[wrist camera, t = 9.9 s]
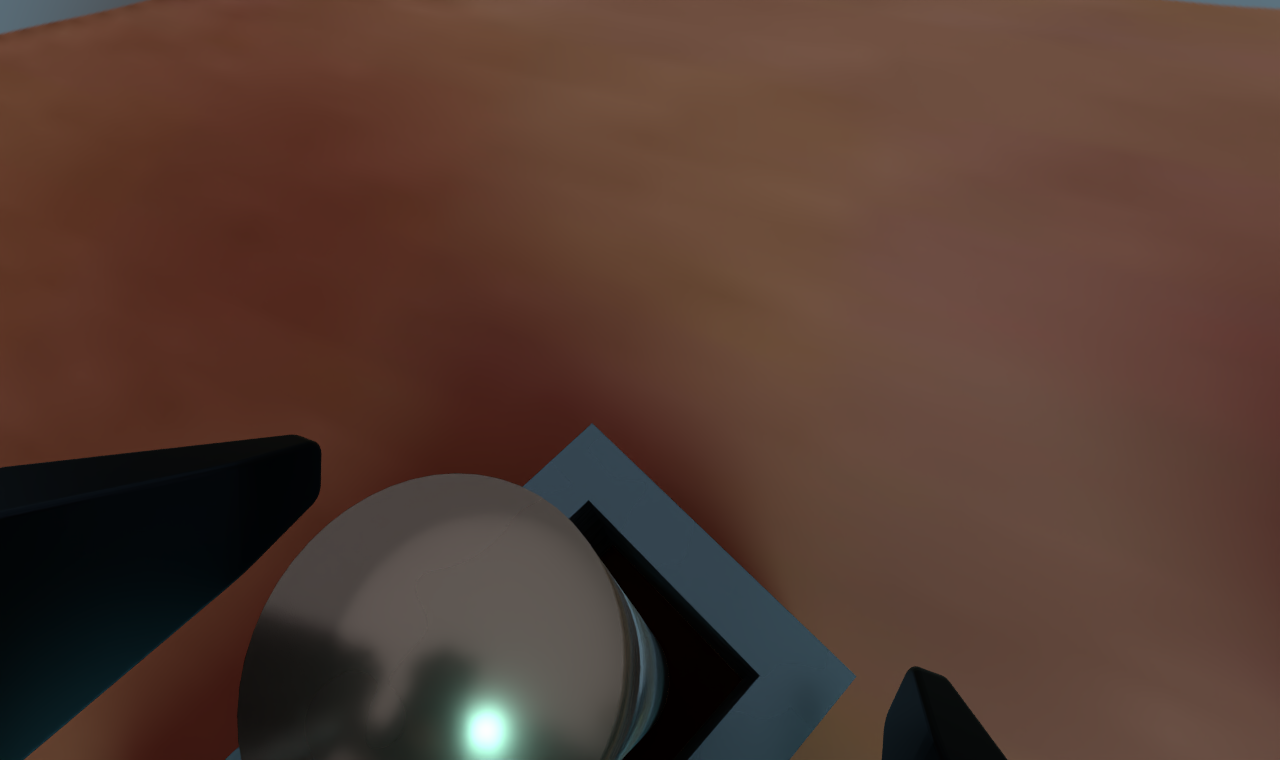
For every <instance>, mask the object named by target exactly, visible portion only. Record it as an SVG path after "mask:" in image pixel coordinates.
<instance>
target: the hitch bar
mask: <svg viewBox="0 0 1280 760" xmlns="http://www.w3.org/2000/svg"><path fill="white" fill-rule="evenodd" d="M523 488H525V489H527V490H529V491H531V492H533V493H535V494H537V495H539V496H540V497H542V498H543V499H545V500H546V501H548V502H549V503H551V504H552V505H553V506H555V507H556V508H557V509H558V510H560V511H561V512H562V513H563V514H564V515H565V516H566V517H567V518H568V519H569V520H570V521H571V522H573V524H574V525H575V526H576V527H577V529H578V530H579V531H580V532H581V533H582V535H583V536H584V537H585V538H586V540H587V541H588V542H589V544H590V545H591V547H592V548H593V549H594V551H595V552H596V554H597V555H598V556H599V558H600V557H601V556H602V555H603V554H604V553H605V552H606V551H607V550H608V549H609V548H610V547H611V546H612V545H613V546H614V547H615V548H616V549H617V550H618V551H619V552H620V553H621V554H622V555H623V556H624V557H625V558H626V559H627V560H628V561H629V562H630V563H631V564H632V565H633V566H634V567H635V569H636V570H637V571H638V572H639V573H640V574H641V575H642V576H643V577H644V578H645V579H646V580H647V581H648V582H649V583H650V584H651V585H652V586H653V587H654V588H655V589H656V590H657V591H658V592H659V594H660V595H661V596H662V597H663V598H664V599H665V600H666V601H667V602H668V603H669V604H670V605H671V606H672V607H673V608H674V609H675V610H676V611H677V612H678V613H679V614H680V615H681V616H682V617H683V619H684V620H685V621H686V622H687V623H688V624H689V625H690V626H691V627H692V628H693V629H694V630H695V631H696V632H697V633H698V634H699V635H700V636H701V637H702V638H703V639H704V640H705V641H706V642H707V644H708V645H709V646H710V647H711V648H712V649H713V650H714V651H715V652H716V653H717V654H718V655H719V656H720V657H721V658H722V659H723V660H724V661H725V662H726V663H727V664H728V665H729V666H730V667H731V669H732V670H733V671H734V672H735V673H736V674H737V675H738V676H739V677H740V678H741V679H742V680H741V681H740V682H739V684H738V685H737V686H736V687H735V688H734V689H733V690H732V692H731V693H730V694H729V695H728V696H727V697H726V699H725V700H724V701H723V702H722V703H721V704H720V706H719V707H718V708H717V709H716V710H715V711H714V712H713V714H712V715H711V716H710V717H709V718H708V719H707V721H706V722H705V723H704V724H703V725H702V726H701V727H700V729H699V730H698V731H697V732H696V733H695V734H694V736H693V737H692V738H691V739H690V740H689V741H688V743H687V744H686V745H685V746H684V747H683V748H682V749H681V751H680V752H679V753H678V754H677V755H676V756H675V758H674V759H673V760H789V759H790V758H791V757H792V756H793V755H794V753H795V752H796V751H797V750H798V748H799V747H800V746H801V745H802V743H803V742H804V741H805V740H806V738H807V737H808V736H809V735H810V733H811V732H812V731H813V730H814V728H815V727H816V726H817V725H818V723H819V722H820V721H821V720H822V719H823V717H824V716H825V715H826V714H827V712H828V711H829V710H830V709H831V707H832V706H833V705H834V704H835V702H836V701H837V700H838V699H839V697H840V696H841V695H842V694H843V692H844V691H845V690H846V689H847V688H848V686H849V685H850V684H851V683H852V681H853V680H854V679H855V678H856V676H855V675H854V674H853V673H852V672H851V671H850V670H849V669H848V668H847V667H846V666H845V665H844V664H843V663H842V662H841V661H840V660H839V659H838V658H837V657H835V656H834V655H833V654H832V653H831V652H830V651H829V650H828V649H827V648H826V647H825V646H824V645H823V644H822V643H821V642H820V641H819V640H818V639H817V638H816V637H815V636H814V635H813V634H811V633H810V632H809V631H808V630H807V629H806V628H805V627H804V626H803V625H802V624H801V623H800V622H799V621H798V620H797V619H796V618H795V617H794V616H793V615H792V614H791V613H790V612H789V611H788V610H786V609H785V608H784V607H783V606H782V605H781V604H780V603H779V602H778V601H777V600H776V599H775V598H774V597H773V596H772V595H771V594H770V593H769V592H768V591H767V590H766V589H765V588H764V587H762V586H761V585H760V584H759V583H758V582H757V581H756V580H755V579H754V578H753V577H752V576H751V575H750V574H749V573H748V572H747V571H746V570H745V569H744V568H743V567H742V566H741V565H740V564H738V563H737V562H736V561H735V560H734V559H733V558H732V557H731V556H730V555H729V554H728V553H727V552H726V551H725V550H724V549H723V548H722V547H721V546H720V545H719V544H718V543H717V542H716V541H714V540H713V539H712V538H711V537H710V536H709V535H708V534H707V533H706V532H705V531H704V530H703V529H702V528H701V527H700V526H699V525H698V524H697V523H696V522H695V521H694V520H693V519H692V518H690V517H689V516H688V515H687V514H686V513H685V512H684V511H683V510H682V509H681V508H680V507H679V506H678V505H677V504H676V503H675V502H674V501H673V500H672V499H671V498H670V497H669V496H668V495H666V494H665V493H664V492H663V491H662V490H661V489H660V488H659V487H658V486H657V485H656V484H655V483H654V482H653V481H652V480H651V479H650V478H649V477H648V476H647V475H646V474H645V473H644V472H642V471H641V470H640V469H639V468H638V467H637V466H636V465H635V464H634V463H633V462H632V461H631V460H630V459H629V458H628V457H627V456H626V455H625V454H624V453H623V452H622V451H621V450H620V449H618V448H617V447H616V446H615V445H614V444H613V443H612V442H611V441H610V440H609V439H608V438H607V437H606V436H605V435H604V434H603V433H602V432H601V431H600V430H599V429H598V428H597V427H596V426H594V425H593V424H591V425H590V426H589V427H587V428H586V429H585V430H584V431H583V432H582V433H581V434H580V435H579V436H578V437H577V438H575V439H574V440H573V441H572V442H571V443H570V444H569V445H568V446H567V447H566V448H565V449H563V450H562V451H561V452H560V453H559V454H558V455H557V456H556V457H555V458H554V459H553V460H551V461H550V462H549V463H548V464H547V465H546V466H545V467H544V468H543V469H542V470H541V471H539V472H538V473H537V474H536V475H535V476H534V477H533V478H532V479H531V480H530V481H529V482H527V483H526V484H525V485H524V486H523ZM225 760H241V755H240V749H239V747H238V748H237V749H236V750H235V751H234V752H233V753H232V754H231V755H229V756H228V757H227V758H226V759H225Z"/></svg>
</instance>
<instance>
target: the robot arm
mask: <svg viewBox="0 0 1280 760" xmlns="http://www.w3.org/2000/svg"><path fill="white" fill-rule="evenodd" d="M320 487H321V449H320V446H319V445H318V444H317V443H316V442H315V441H312V440H309V439H307V438H304V437H301V436H298V435H284V436H275V437H266V438H257V439H248V440H239V441H231V442H222V443H213V444H204V445H195V446H186V447H178V448H169V449H160V450H151V451H142V452H133V453H124V454H116V455H107V456H98V457H89V458H80V459H71V460H63V461H54V462H45V463H36V464H27V465H18V466H10V467H2V468H0V760H24V759H25V758H26V757H27V756H29V755H30V754H31V753H32V752H33V751H35V750H36V749H37V748H38V747H39V746H40V745H42V744H43V743H44V742H45V741H46V740H48V739H49V738H50V737H51V736H52V735H53V734H55V733H56V732H57V731H58V730H59V729H61V728H62V727H63V726H64V725H65V724H67V723H68V722H69V721H70V720H71V719H72V718H74V717H75V716H76V715H77V714H78V713H80V712H81V711H82V710H83V709H84V708H85V707H87V706H88V705H89V704H90V703H91V702H93V701H94V700H95V699H96V698H97V697H99V696H100V695H101V694H102V693H103V692H104V691H106V690H107V689H108V688H109V687H110V686H112V685H113V684H114V683H115V682H116V681H117V680H119V679H120V678H121V677H122V676H123V675H125V674H126V673H127V672H128V671H129V670H131V669H132V668H133V667H134V666H135V665H136V664H138V663H139V662H140V661H141V660H142V659H144V658H145V657H146V656H147V655H148V654H149V653H151V652H152V651H153V650H154V649H155V648H157V647H158V646H159V645H160V644H161V643H163V642H164V641H165V640H166V639H167V638H168V637H170V636H171V635H172V634H173V633H174V632H176V631H177V630H178V629H179V628H180V627H181V626H183V625H184V624H185V623H186V622H187V621H189V620H190V619H191V618H192V617H193V616H195V615H196V614H197V613H198V612H199V611H200V610H202V609H203V608H204V607H205V606H206V605H208V604H209V603H210V602H211V601H212V600H213V599H215V598H216V597H217V596H218V595H219V594H221V593H222V592H223V591H224V590H225V589H227V588H228V587H229V586H230V585H231V584H232V583H233V582H235V581H236V580H237V579H238V578H239V577H240V576H241V575H242V574H243V573H245V572H246V571H247V570H248V569H249V568H250V567H251V566H252V565H253V564H254V563H255V562H256V561H257V560H258V559H259V558H260V557H261V556H262V555H263V554H264V553H265V552H266V551H267V550H268V549H269V548H270V547H271V546H272V545H273V544H274V543H275V542H276V541H277V540H278V539H279V538H280V537H281V536H282V535H283V534H284V533H285V532H286V531H287V530H288V529H289V528H290V527H291V526H292V525H293V524H294V523H295V522H296V521H297V520H298V518H299V517H300V516H301V515H302V514H303V513H304V512H305V511H306V510H307V509H308V508H309V507H310V506H311V505H312V504H313V503H314V502H315V500H316V499H317V497H318V495H319V492H320ZM882 760H1007V758H1006V757H1005V756H1004V754H1003V753H1002V752H1001V750H1000V749H999V748H998V746H997V745H996V744H995V742H994V741H993V740H992V738H991V737H990V736H989V734H988V733H987V732H986V730H985V729H984V727H983V726H982V725H981V723H980V722H979V721H978V719H977V718H976V717H975V715H974V714H973V713H972V711H971V710H970V709H969V707H968V706H967V705H966V703H965V702H964V700H963V699H962V698H961V696H960V695H959V694H958V692H957V691H956V690H955V688H954V687H953V686H952V684H951V683H950V682H949V681H948V680H947V679H946V678H945V677H944V676H942V675H939V674H936V673H934V672H931V671H928V670H926V669H923V668H920V667H917V666H914V667H911V668H910V669H909V670H908V671H907V673H906V675H905V677H904V679H903V681H902V683H901V685H900V687H899V689H898V692H897V694H896V696H895V698H894V700H893V702H892V704H891V707H890V709H889V711H888V714H887V717H886V721H885V726H884V735H883V750H882Z"/></svg>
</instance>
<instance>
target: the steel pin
mask: <svg viewBox="0 0 1280 760" xmlns="http://www.w3.org/2000/svg"><path fill="white" fill-rule="evenodd" d="M669 682H670V677H669V668H668V662H667V659H666V656H665V653H664V651H663V649H662V647H661V645H660V643H659V642H658V640H657V639H656V637H655V636H654V634H653V633H652V631H651V630H650V629H649V627H648V626H647V624H646V623H645V622H644V620H643V619H642V617H641V616H640V614H639V613H638V612H637V610H636V609H635V607H634V606H633V605H632V603H631V602H630V600H629V599H628V597H627V596H626V595H625V593H624V592H623V590H622V589H621V588H620V586H619V585H618V583H617V582H616V581H615V579H614V578H613V576H612V575H611V573H610V572H609V571H608V569H607V568H606V566H605V565H604V564H603V562H602V561H601V559H600V558H599V556H598V555H597V554H596V552H595V551H594V549H593V548H592V547H591V545H590V544H589V542H588V541H587V540H586V538H585V537H584V536H583V535H582V533H581V532H580V531H579V530H578V529H577V527H576V526H575V525H574V524H573V522H571V521H570V520H569V519H568V518H567V517H566V516H565V515H564V514H563V513H562V512H561V511H560V510H558V509H557V508H556V507H555V506H553V505H552V504H551V503H549V502H548V501H546V500H545V499H543V498H542V497H540V496H539V495H537V494H535V493H533V492H531V491H529V490H527V489H525V488H523V487H521V486H519V485H516V484H513V483H510V482H507V481H504V480H501V479H498V478H493V477H488V476H483V475H477V474H458V473H454V474H441V475H432V476H427V477H422V478H417V479H412V480H409V481H406V482H403V483H400V484H397V485H394V486H391V487H388V488H386V489H384V490H382V491H380V492H378V493H375V494H373V495H371V496H369V497H367V498H366V499H364V500H362V501H361V502H359V503H357V504H356V505H354V506H352V507H351V508H349V509H347V510H346V511H345V512H344V513H342V514H341V515H340V516H338V517H337V518H336V519H334V520H333V521H332V522H330V523H329V524H328V525H327V526H326V527H325V528H324V529H323V530H322V531H320V532H319V533H318V534H317V535H316V536H315V537H314V538H313V539H312V540H311V541H310V542H309V543H308V544H307V545H306V546H305V548H304V549H303V550H302V551H301V552H300V553H299V555H298V556H297V557H296V558H295V559H294V560H293V562H292V563H291V564H290V566H289V567H288V569H287V570H286V572H285V573H284V574H283V576H282V577H281V579H280V580H279V582H278V583H277V585H276V587H275V588H274V590H273V592H272V594H271V595H270V597H269V599H268V601H267V603H266V604H265V606H264V608H263V611H262V613H261V615H260V618H259V620H258V622H257V625H256V627H255V629H254V632H253V635H252V638H251V641H250V644H249V647H248V651H247V654H246V657H245V661H244V666H243V671H242V677H241V682H240V688H239V700H238V712H237V718H238V743H239V749H240V755H241V760H622V759H623V758H624V757H625V756H626V754H627V753H628V752H629V751H630V750H631V749H632V748H633V747H634V746H635V745H636V744H637V743H638V742H639V741H640V740H641V739H642V738H643V737H644V736H645V735H646V734H647V733H648V732H649V731H650V730H651V729H652V727H653V726H654V725H655V723H656V722H657V721H658V719H659V717H660V716H661V714H662V712H663V709H664V707H665V705H666V701H667V698H668V692H669Z"/></svg>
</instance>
